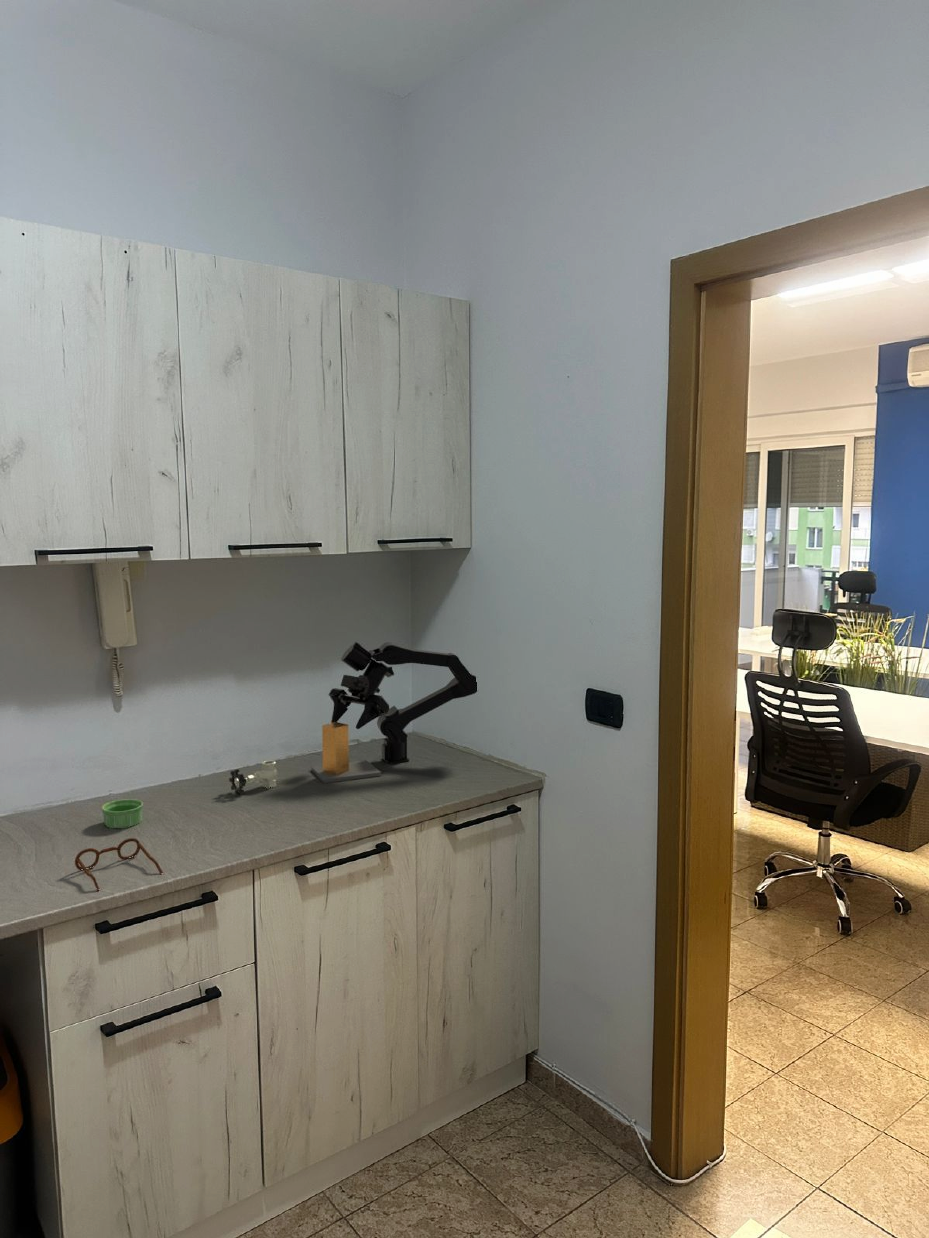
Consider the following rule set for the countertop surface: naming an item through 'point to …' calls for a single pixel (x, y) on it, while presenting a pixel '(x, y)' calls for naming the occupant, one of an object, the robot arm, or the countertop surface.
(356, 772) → the rubber mat
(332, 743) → the wooden block
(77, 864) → the glasses
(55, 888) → the countertop surface
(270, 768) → the valve
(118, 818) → the ramekin
